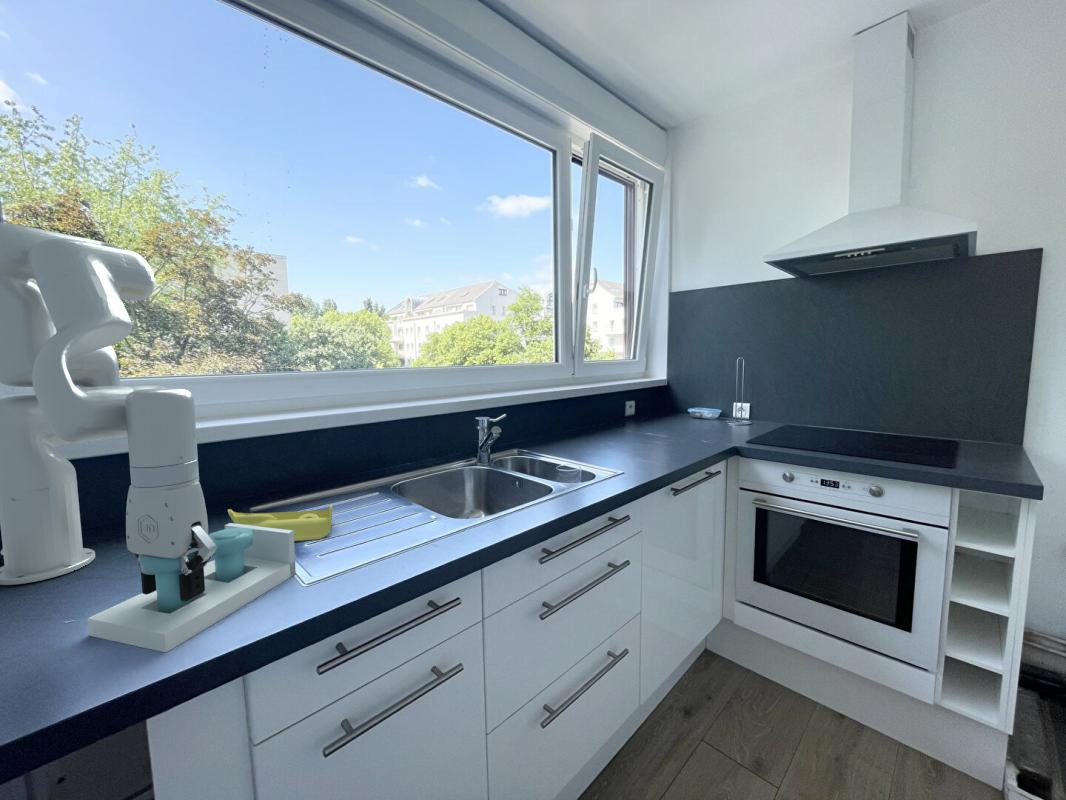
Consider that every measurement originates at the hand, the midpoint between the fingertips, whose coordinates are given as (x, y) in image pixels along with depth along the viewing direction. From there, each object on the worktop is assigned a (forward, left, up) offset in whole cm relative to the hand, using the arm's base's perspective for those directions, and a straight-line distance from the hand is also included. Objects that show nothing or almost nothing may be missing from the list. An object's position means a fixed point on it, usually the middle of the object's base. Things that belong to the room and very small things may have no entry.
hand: (174, 592), depth 65 cm
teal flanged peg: (0, +9, -4) cm, 10 cm away
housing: (0, +4, -4) cm, 6 cm away
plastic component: (-10, +30, -4) cm, 32 cm away
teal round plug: (0, 0, -3) cm, 3 cm away
